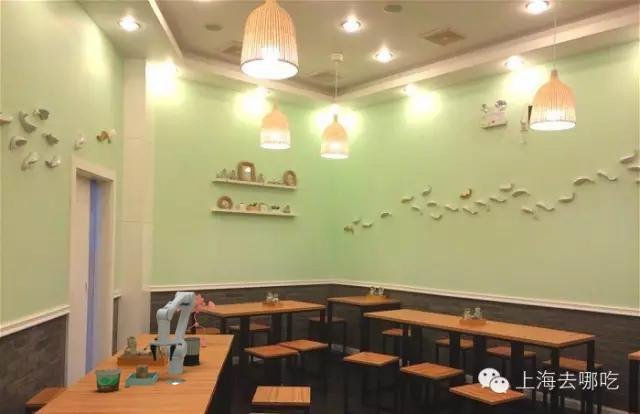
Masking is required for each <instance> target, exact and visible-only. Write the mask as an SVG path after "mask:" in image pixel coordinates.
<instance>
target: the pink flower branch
mask: <svg viewBox="0 0 640 414" xmlns="http://www.w3.org/2000/svg"><path fill="white" fill-rule="evenodd" d="M204 300H205V299H204V298H203V297H202V295H201V294H199V293H198V294H197V295H196V301H195V305H194V308H193V309H192V310H191V312H190V314H192V313H195V314H194V316H193V317H194V320H195V323H194V324H193V325H192V326H189V327H188V331H190V329H191V328H192V327H195V328H198V327H200V328H203V329H204V330H203V333H205V332H206V331H205V330H206V328H205V327H203V326H201V325H199V324H200V323H199V322H197V319H196V315H197V314H199V313H200V312H203V313H207V312H208V309H209V308H210V309H211V310H213V311H215V310H216V304H215V303H214V302H213V301H211V300H209V302H208V303H207V307H206V310H204V307H205V306H206V302H204ZM176 312H178V313H179V312H181V309H179V308H177V310H176ZM200 345H201V346H202V347H203V346H205V347H206V345H207V339H206V338H205V334H203V336H202V337H201V339H200Z"/></svg>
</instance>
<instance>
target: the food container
mask: <svg viewBox="0 0 640 414" xmlns="http://www.w3.org/2000/svg"><path fill="white" fill-rule="evenodd" d="M122 373H123V369H122V367H120V368H117V369H113V368H109V369H103V370H102V369H100V370H99V369H95V370H94V375H95V377H96V389H97V390H96V391H97V392H99V393H113V392H117V391H118V390H119V389H120V381H121V375H122Z"/></svg>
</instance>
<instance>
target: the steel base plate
mask: <svg viewBox="0 0 640 414" xmlns="http://www.w3.org/2000/svg"><path fill="white" fill-rule="evenodd" d="M186 382H187V380H186V379H183V378H182V379H181V378H177V379H176V378H174V379H173V378H172V379H168V380H165V382H164V383H165V384H166V385H167V384H168V385H181V384H184V383H186Z"/></svg>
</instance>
